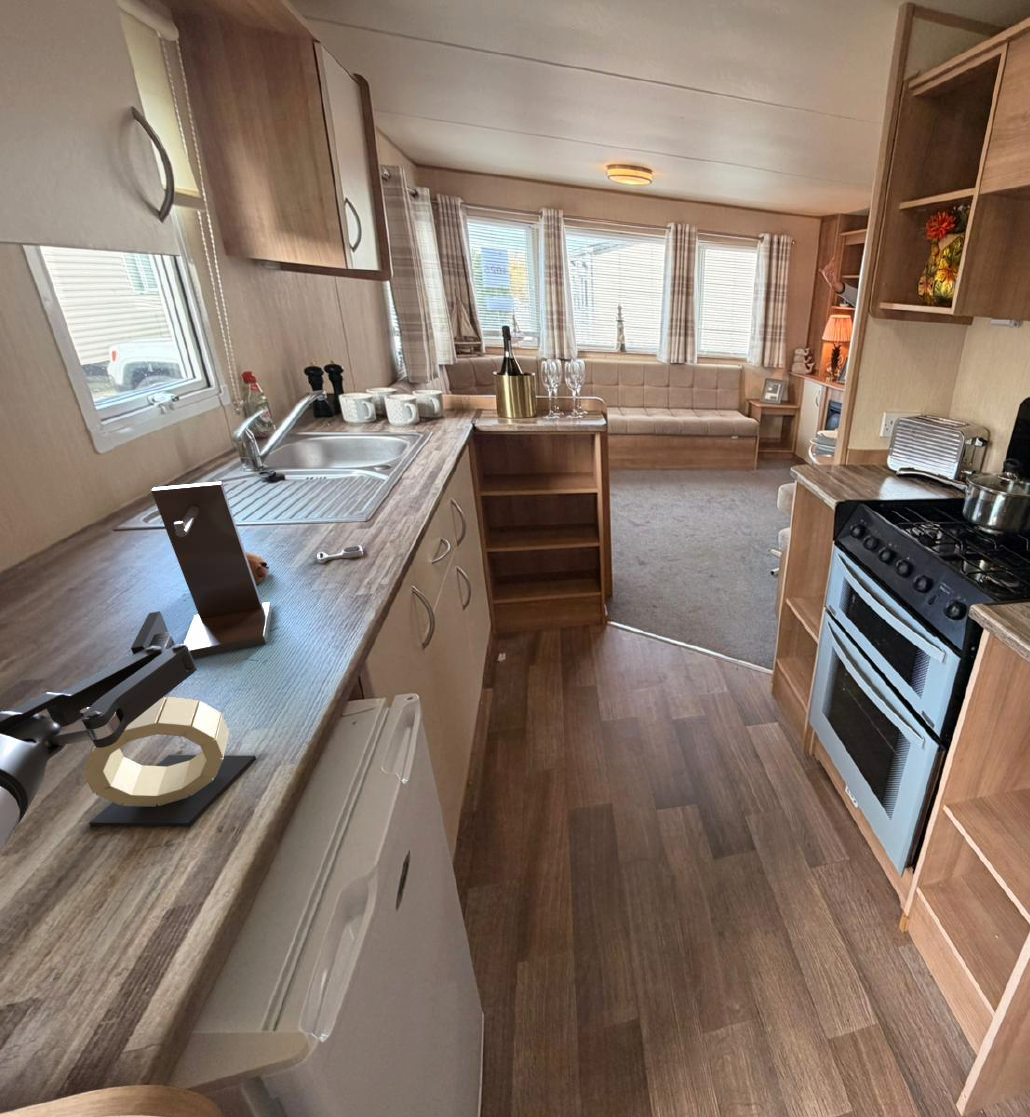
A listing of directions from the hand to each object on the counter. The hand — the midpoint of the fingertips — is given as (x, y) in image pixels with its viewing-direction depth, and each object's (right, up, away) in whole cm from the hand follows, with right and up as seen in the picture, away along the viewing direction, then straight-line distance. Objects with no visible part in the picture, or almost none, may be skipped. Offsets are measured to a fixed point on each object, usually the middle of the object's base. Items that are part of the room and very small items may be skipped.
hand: (54, 643), depth 51 cm
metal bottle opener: (-25, +7, +73) cm, 77 cm away
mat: (-4, -19, +16) cm, 25 cm away
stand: (-24, -5, +45) cm, 51 cm away
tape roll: (-4, -19, +16) cm, 25 cm away
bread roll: (-36, +3, +61) cm, 71 cm away
